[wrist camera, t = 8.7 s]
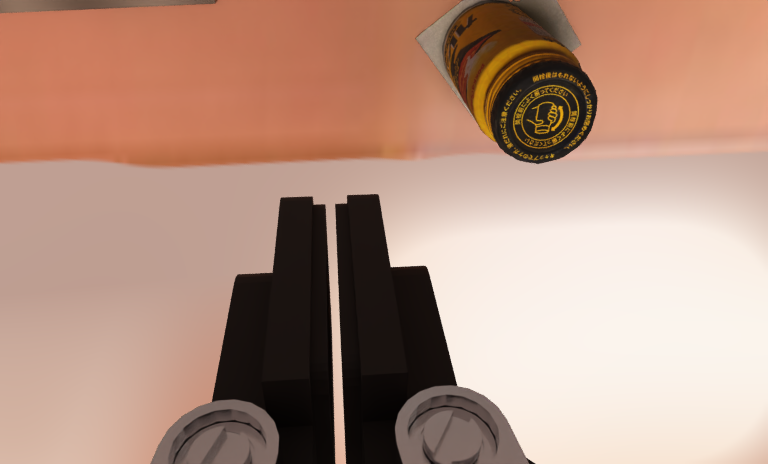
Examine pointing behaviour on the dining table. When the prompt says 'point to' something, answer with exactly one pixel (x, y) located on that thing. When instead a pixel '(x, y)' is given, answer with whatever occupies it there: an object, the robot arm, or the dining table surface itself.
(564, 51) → the condiment
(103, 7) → the grey brown double block
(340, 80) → the dining table surface
